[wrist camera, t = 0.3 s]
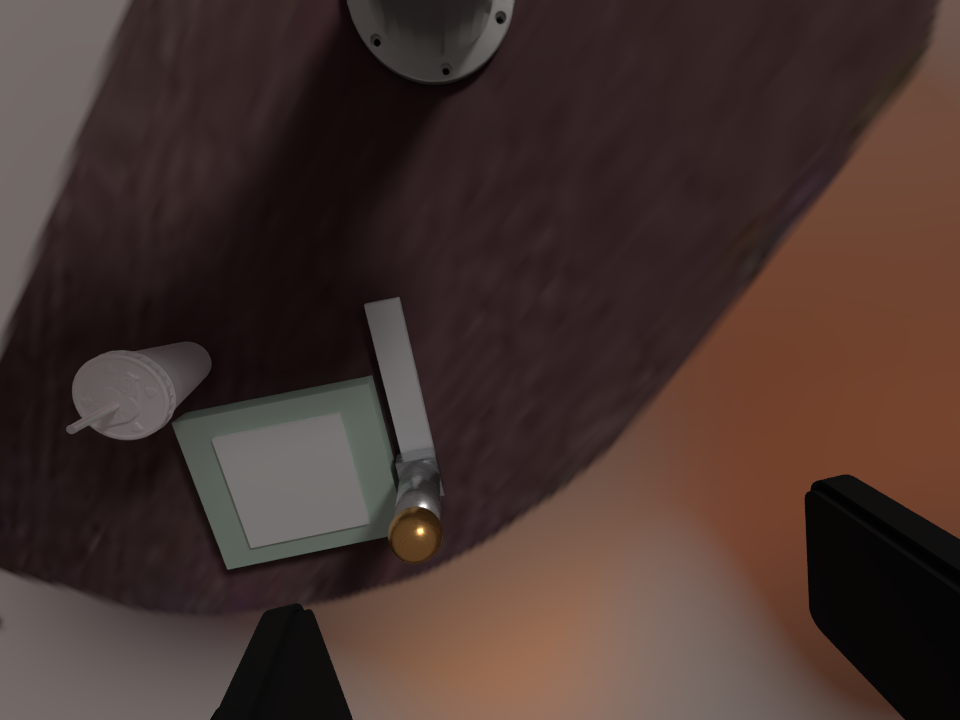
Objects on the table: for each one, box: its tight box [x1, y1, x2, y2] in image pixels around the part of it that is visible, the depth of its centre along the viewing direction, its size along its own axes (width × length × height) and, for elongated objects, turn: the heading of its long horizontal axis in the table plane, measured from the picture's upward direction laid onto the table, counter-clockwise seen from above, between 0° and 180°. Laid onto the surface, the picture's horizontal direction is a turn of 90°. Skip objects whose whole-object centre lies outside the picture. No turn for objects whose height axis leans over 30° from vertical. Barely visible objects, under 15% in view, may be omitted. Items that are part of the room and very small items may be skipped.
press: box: [172, 297, 434, 570], centre depth 44 cm, size 22×21×3 cm
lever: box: [388, 446, 444, 564], centre depth 40 cm, size 4×4×12 cm
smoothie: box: [66, 342, 212, 440], centre depth 36 cm, size 6×6×14 cm
